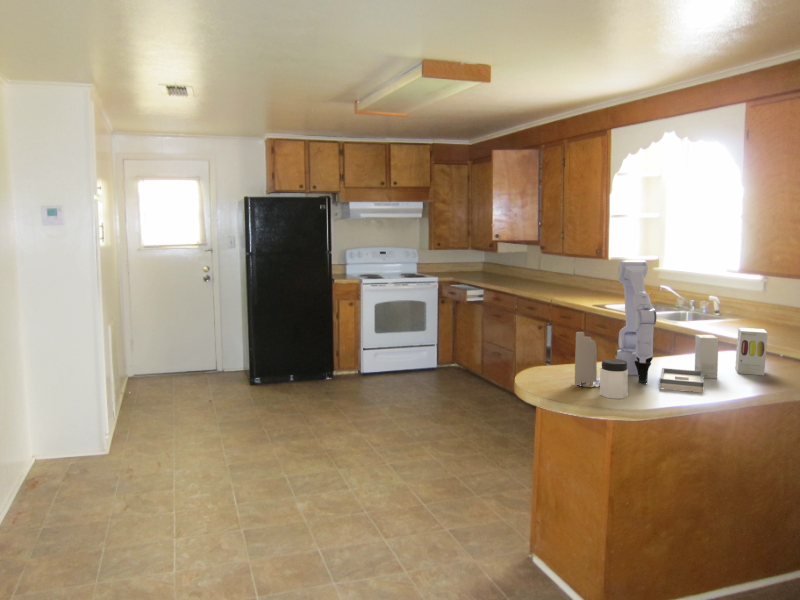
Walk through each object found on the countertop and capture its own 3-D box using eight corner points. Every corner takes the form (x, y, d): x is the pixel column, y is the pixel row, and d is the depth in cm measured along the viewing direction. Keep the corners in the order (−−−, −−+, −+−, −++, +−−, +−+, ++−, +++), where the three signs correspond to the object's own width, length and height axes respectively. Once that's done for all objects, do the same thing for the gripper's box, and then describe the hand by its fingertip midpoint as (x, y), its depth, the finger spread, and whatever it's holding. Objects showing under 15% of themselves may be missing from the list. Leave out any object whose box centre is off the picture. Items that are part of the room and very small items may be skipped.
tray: (659, 388, 225) (660, 378, 224) (661, 376, 241) (662, 367, 241) (703, 392, 219) (703, 382, 219) (702, 380, 235) (702, 371, 235)
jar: (606, 390, 222) (607, 357, 221) (629, 394, 217) (631, 360, 216) (596, 396, 216) (597, 361, 214) (619, 400, 210) (621, 365, 209)
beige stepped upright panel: (616, 387, 227) (618, 332, 224) (577, 387, 227) (579, 332, 224) (609, 382, 234) (611, 328, 232) (572, 382, 234) (573, 329, 231)
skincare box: (717, 379, 237) (719, 338, 235) (698, 378, 239) (700, 337, 237) (711, 373, 246) (713, 334, 244) (693, 373, 247) (695, 333, 245)
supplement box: (737, 373, 246) (739, 330, 244) (734, 368, 254) (737, 327, 252) (765, 375, 242) (768, 332, 240) (761, 370, 251) (764, 328, 248)
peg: (637, 383, 232) (638, 364, 231) (638, 381, 235) (639, 362, 234) (647, 384, 231) (647, 365, 230) (647, 382, 234) (648, 363, 233)
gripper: (634, 337, 239) (633, 372, 241) (631, 344, 226) (629, 381, 228) (654, 339, 236) (652, 374, 238) (652, 346, 223) (650, 383, 225)
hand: (642, 378), depth 233 cm, fingers open, 7 cm apart
